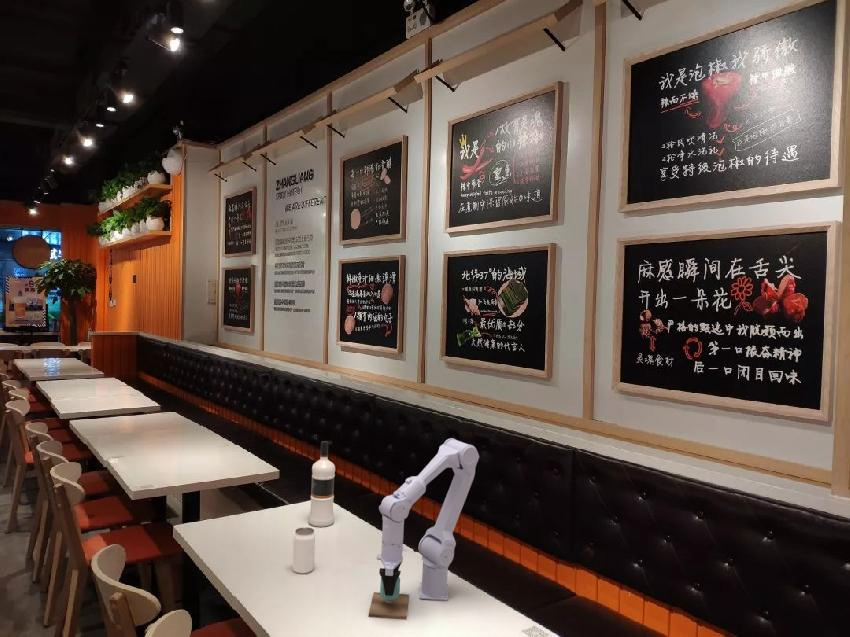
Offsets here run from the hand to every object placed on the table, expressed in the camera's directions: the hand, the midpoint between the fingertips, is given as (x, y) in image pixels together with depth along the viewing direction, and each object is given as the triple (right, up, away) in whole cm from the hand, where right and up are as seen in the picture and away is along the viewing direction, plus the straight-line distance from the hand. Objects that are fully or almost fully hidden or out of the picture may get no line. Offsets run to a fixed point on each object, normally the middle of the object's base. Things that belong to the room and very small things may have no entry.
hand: (390, 589), depth 171 cm
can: (-28, -3, +20) cm, 34 cm away
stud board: (0, -5, 0) cm, 5 cm away
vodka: (-28, -1, +58) cm, 65 cm away
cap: (0, -1, 0) cm, 1 cm away
